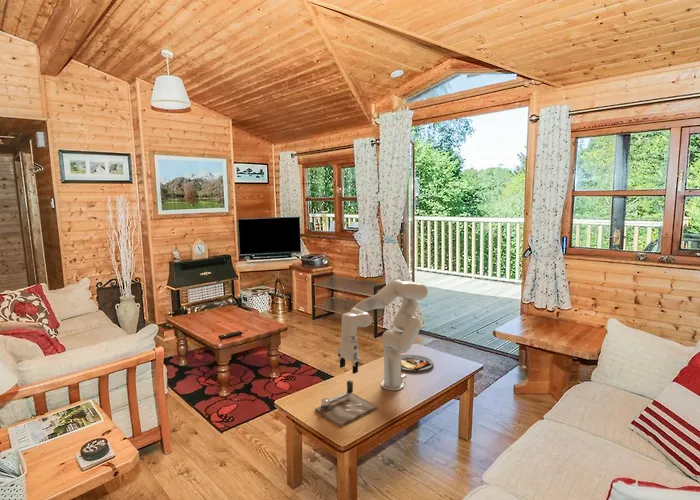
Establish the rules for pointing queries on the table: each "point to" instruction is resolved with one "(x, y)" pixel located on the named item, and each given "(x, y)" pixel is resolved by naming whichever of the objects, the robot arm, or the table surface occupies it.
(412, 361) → the food plate
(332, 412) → the cracker board
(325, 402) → the lever
